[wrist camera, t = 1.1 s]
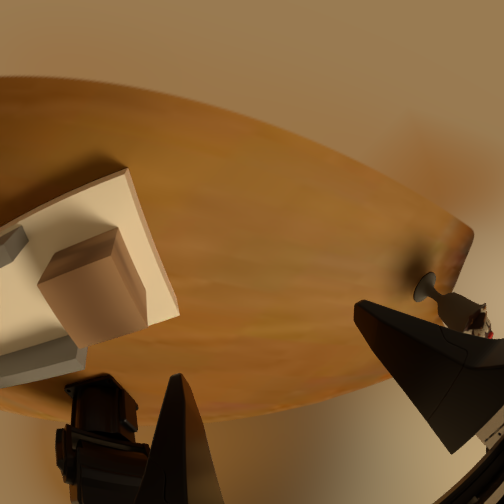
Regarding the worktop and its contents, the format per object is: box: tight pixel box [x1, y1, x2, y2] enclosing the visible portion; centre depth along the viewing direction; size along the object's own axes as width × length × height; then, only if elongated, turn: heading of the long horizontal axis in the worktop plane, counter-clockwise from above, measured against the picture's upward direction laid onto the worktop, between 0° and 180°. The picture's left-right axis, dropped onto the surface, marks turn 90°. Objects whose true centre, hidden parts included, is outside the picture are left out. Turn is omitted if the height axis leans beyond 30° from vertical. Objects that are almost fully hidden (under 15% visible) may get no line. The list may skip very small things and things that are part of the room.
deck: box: [0, 168, 180, 356], centre depth 16 cm, size 28×11×2 cm, turn 101°
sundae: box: [414, 272, 493, 339], centre depth 29 cm, size 7×7×15 cm
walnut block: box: [37, 227, 148, 349], centre depth 15 cm, size 5×5×4 cm
